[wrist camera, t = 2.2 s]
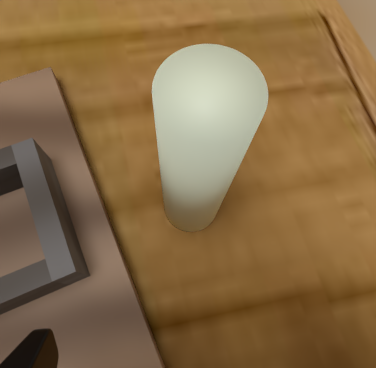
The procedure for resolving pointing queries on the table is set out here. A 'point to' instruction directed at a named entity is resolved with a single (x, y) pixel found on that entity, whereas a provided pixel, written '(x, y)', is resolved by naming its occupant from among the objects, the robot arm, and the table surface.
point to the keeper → (61, 240)
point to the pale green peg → (204, 127)
